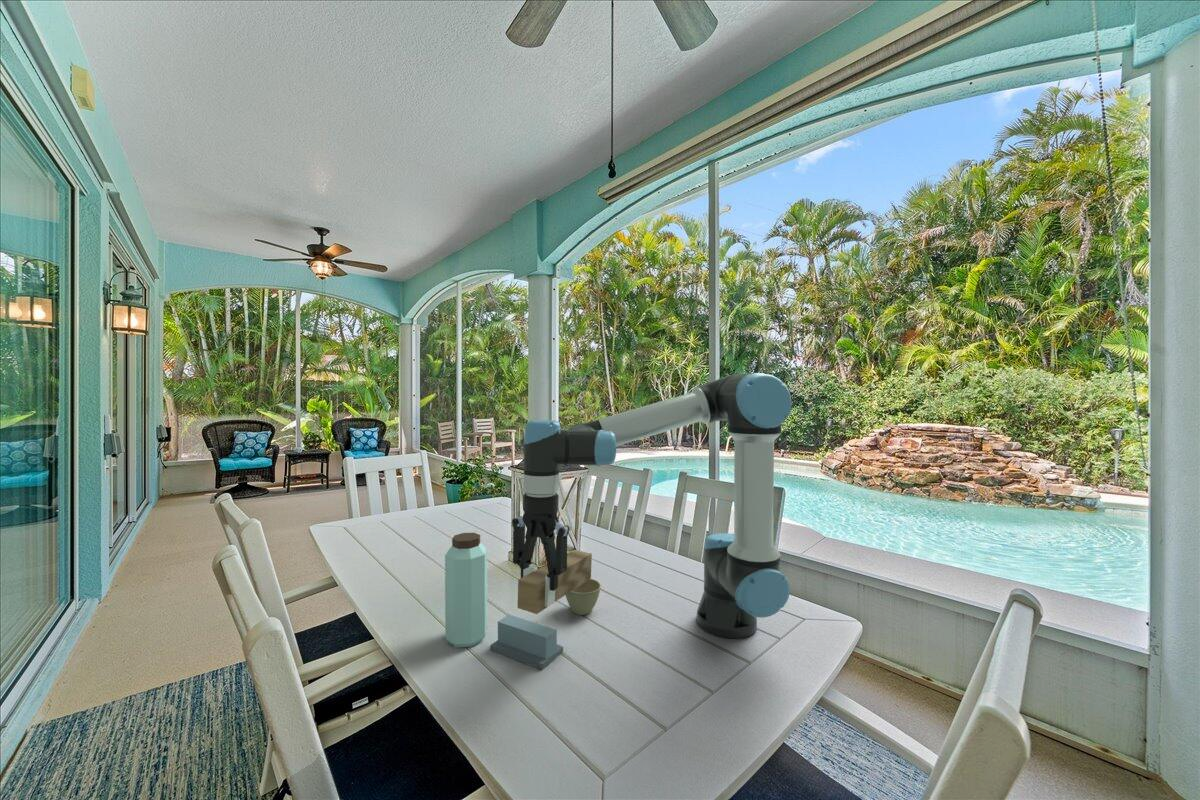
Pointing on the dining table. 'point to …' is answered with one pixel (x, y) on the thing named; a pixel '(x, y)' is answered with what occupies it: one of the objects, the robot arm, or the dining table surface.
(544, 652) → the ridge
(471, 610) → the water bottle
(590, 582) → the flower pot
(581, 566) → the walnut bar
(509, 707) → the dining table surface
